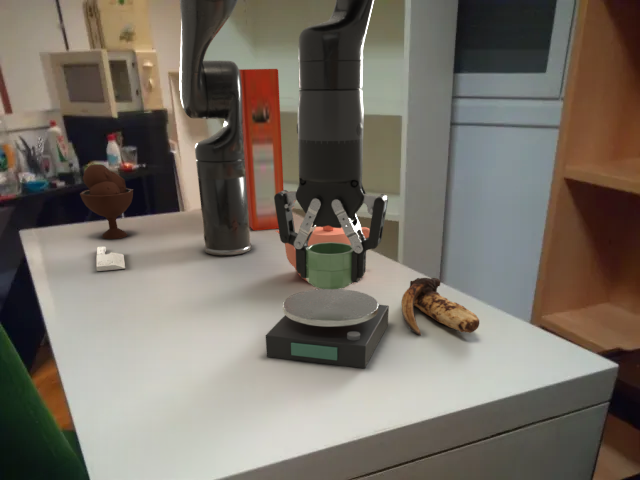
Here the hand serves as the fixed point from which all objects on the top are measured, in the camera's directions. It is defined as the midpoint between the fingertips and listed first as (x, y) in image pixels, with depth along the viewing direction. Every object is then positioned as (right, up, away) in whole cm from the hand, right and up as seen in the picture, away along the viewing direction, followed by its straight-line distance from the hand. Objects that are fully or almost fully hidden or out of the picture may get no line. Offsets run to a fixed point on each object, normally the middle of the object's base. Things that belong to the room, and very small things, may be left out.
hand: (330, 278), depth 76 cm
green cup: (0, -1, 0) cm, 1 cm away
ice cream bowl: (-48, +24, +57) cm, 78 cm away
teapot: (-1, +8, +30) cm, 31 cm away
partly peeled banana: (+15, -4, +10) cm, 19 cm away
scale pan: (0, -4, +2) cm, 4 cm away
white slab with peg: (-42, +13, +40) cm, 60 cm away
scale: (0, -7, +4) cm, 9 cm away
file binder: (-16, +31, +69) cm, 77 cm away
